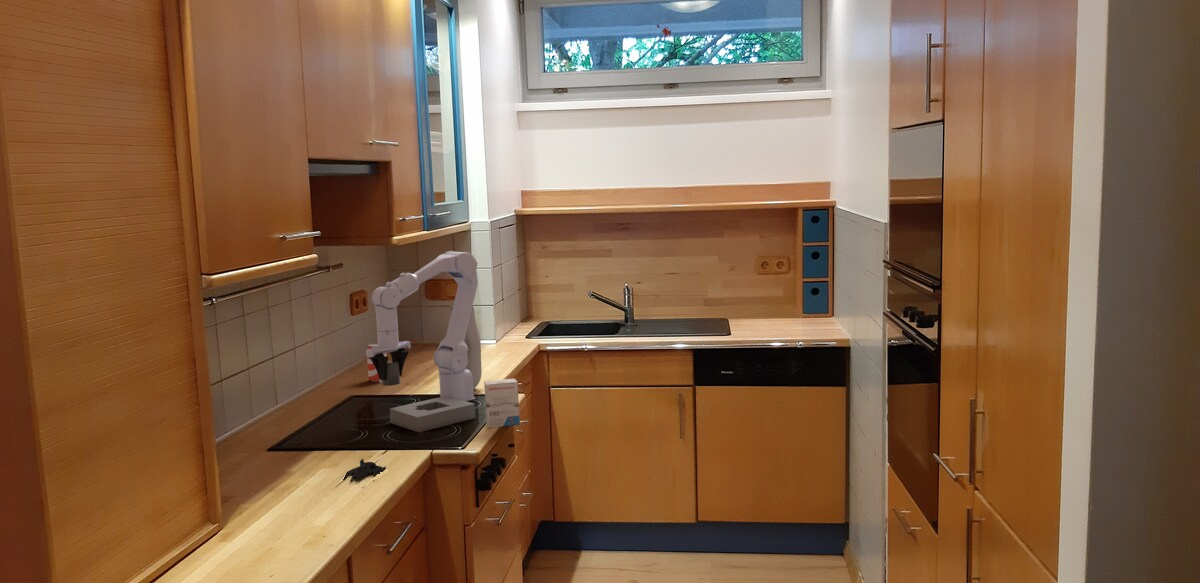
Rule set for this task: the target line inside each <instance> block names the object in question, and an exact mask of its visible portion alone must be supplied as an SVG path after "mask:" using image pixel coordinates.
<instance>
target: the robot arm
mask: <svg viewBox="0 0 1200 583" xmlns="http://www.w3.org/2000/svg"><path fill="white" fill-rule="evenodd" d="M477 268H478V262H477V259H476V258H475V257H474V255H473V254H472V253H470V252H468V251H463V252H460V251H454V250H448V251H446V252H445V253H442V254H439V255H438V256H437V257H436V258H435V259H433V260H432V261H430V262H428V263H427V264H426V265H424V266H422V267H421V268H420V269H419V270H417V271H415V272H414V273H410V272H401V273H400V274H399V277H397V278H395V279H394V280H392V281H388V282H386V283H385V285H384V286H379V287H377V288H375V289H374V291H373V292H372V295H371V297H370V302H371V303H372V304H371V305H373V306H374V310H375V319H376V320H375V323H376V335H377V336H376V338H377V343H378V345H377V346H376V347H373V348H371V349H368V350H367V349H365V353H366V354H365V356H366V358H367V357H370V360H371V361H372V363H373V364H374V366H375V368H376V370H377V373H378V376H379V379H380V380H384V381H385V380H386V379H387V361H389V356H384V355H383V354H385V353H387V354H388V353H389V354H390V356H391V361H399V373H400V377H402V375H403V370H404V365H405V362H406V359H407V357H408V355H409V349H412V348H411V345H412V344H411V341H409V340H404V341H400V340H399V338H400V337H399V326H398V324H399V323H398V311H397V309H398V308H397V307H398V306H399V304H400V303H401V301H402V300H404V299H405V298H407V297H409V296H411V295H412V294H413V293H415V292H417V291H419V288H420V285H421V284H422V283H424V282H425V281H428V280H430V279H431V278H433V277H435V276H437V275H439V274H441V273H445V272H446V274H448V275H449V276H450V277H452V279H454V281H455V282H456V284H457V289H456V293H455V297H454V300H453V301H454V302H453V303H454V305H453V309H452V314H451V318H450V317H449V319H450V322H449V321H448V325H447V326H448V327H447V331H446V334H445V337H444V338H443V339H442V340H441V341H440V342H439V344H438V348H437V349H436V350H435V352H434V355H433V363H434V364H435V366H436V367H437V369H438V370H437V371H438V376H439V377H438V380H439V395H440V396H439V397H443V396H448V397H452V398H455V399H459V400H463V401H466V402H469V401H472V400H476V396H475V393H474V392H475V391H474V389H475V388H474V389H473V376H472V374H471V372H470V371H469V370H468V369H465V368H466V366H467V363H468V357H467V351H468V347H467V345H466V344H465V342H464V340H465V336H466V331H467V327H468V323H469V319H470V314H471V310H472V306H473V307H474V301H475V297H476V293H477V288H478V284H479V280H478V274H477ZM407 349H408V350H407Z"/></svg>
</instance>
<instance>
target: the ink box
mask: <svg viewBox="0 0 1200 583" xmlns="http://www.w3.org/2000/svg"><path fill="white" fill-rule="evenodd" d="M483 383H484V406H485V422H486V428H488V429H489V428H500V427H501V428H502V427H510V426H520V424H521V421H520V420H521V419H520V403H519V401H520V399H519V383H518V380H517V379H516V378H506V379H495V380H494V379H492V380H484V382H483Z"/></svg>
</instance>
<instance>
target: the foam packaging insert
mask: <svg viewBox="0 0 1200 583" xmlns="http://www.w3.org/2000/svg"><path fill="white" fill-rule="evenodd" d="M389 419H390V420H389V421H390V424H392V425H396V426H399V427H401V428H405V429H407V430H411V431H414V432H416V433H421V432H425V431H429V430H433V429H437V428H441V427H446V426H449V425H453V424H457V423H461V422H465V421H469V420H473V419H476V405H475V402H474V403H473V402H469V401H463V400H459V399H455V398H452V397H448V396H443V397H440V396H439V397H435V398H430V399H426V400H422V401H417V402H413V403H409V404H405V405H399V406H396V407H391V408H389Z"/></svg>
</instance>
